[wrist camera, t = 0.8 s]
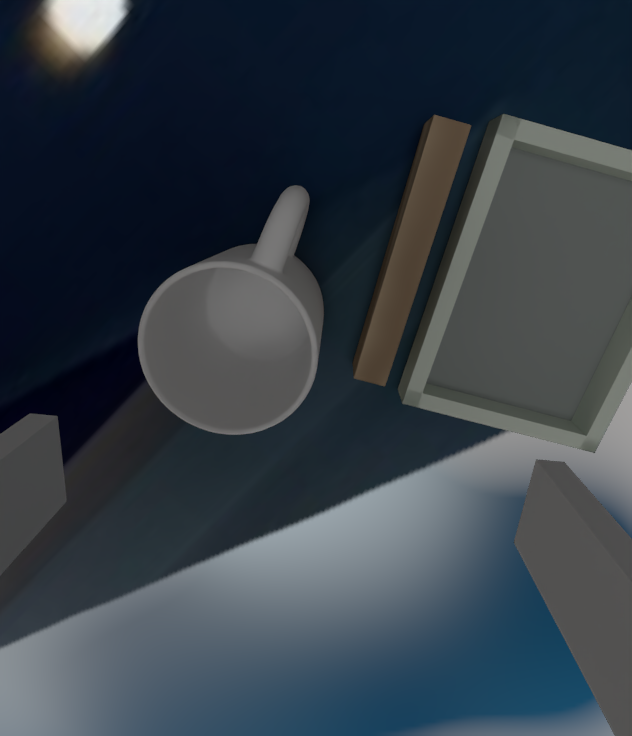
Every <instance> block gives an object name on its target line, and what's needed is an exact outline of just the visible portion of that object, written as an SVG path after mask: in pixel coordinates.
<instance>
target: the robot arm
mask: <svg viewBox="0 0 632 736" xmlns="http://www.w3.org/2000/svg"><path fill="white" fill-rule="evenodd" d="M66 501H67V498H66V489H65V480H64V471H63V462H62V453H61V444H60V434H59V425H58V416H52V415H41V414H28V415H27V416H25V417H24V418H23V419H21V420H20V421H18V422H17V423H15V424H14V425H13V426H11V427H10V428H8V429H7V430H5V431H4V432H2V433H1V434H0V575H1V574H2V573H3V572H4V571H5V570H6V569H7V567H8V566H9V565H10V564H11V563H12V562H13V561H14V560H15V558H16V557H17V556H18V555H19V554H20V553H21V552H22V551H23V550H24V548H25V547H26V546H27V545H28V544H29V543H30V542H31V541H32V539H33V538H34V537H35V536H36V535H37V534H38V533H39V532H40V531H41V529H42V528H43V527H44V526H45V525H46V524H47V523H48V522H49V520H50V519H51V518H52V517H53V516H54V515H55V514H56V513H57V512H58V510H59V509H60V508H61V507H62V506H63V505H64V504H65V503H66ZM514 543H515V545H516V548H517V549H518V551H519V553H520V555H521V557H522V559H523V561H524V563H525V565H526V567H527V569H528V570H529V572H530V574H531V576H532V578H533V580H534V582H535V584H536V586H537V587H538V590H539V592H540V593H541V595H542V597H543V599H544V601H545V603H546V605H547V607H548V609H549V611H550V613H551V614H552V616H553V618H554V620H555V622H556V624H557V626H558V628H559V630H560V632H561V633H562V635H563V637H564V639H565V641H566V643H567V645H568V647H569V648H570V651H571V653H572V654H573V656H574V658H575V660H576V662H577V664H578V666H579V668H580V670H581V671H582V674H583V676H584V677H585V679H586V681H587V683H588V685H589V687H590V689H591V691H592V693H593V695H594V697H595V698H596V700H597V702H598V704H599V706H600V708H601V710H602V712H603V714H604V716H605V718H606V720H607V722H608V723H609V725H610V727H611V729H612V731H613V733H614V735H615V736H632V539H631V538H630V536H629V535H628V534H627V533H626V532H625V531H624V530H623V528H622V527H621V526H620V525H619V524H618V523H617V522H616V520H615V519H614V518H613V517H612V516H611V515H610V514H609V512H608V511H607V510H606V509H605V508H604V507H603V506H602V504H601V503H600V502H599V501H598V500H597V499H596V498H595V496H594V495H593V494H592V493H591V492H590V491H589V490H588V489H587V487H586V486H585V485H584V484H583V483H582V482H581V481H580V479H579V478H578V477H577V476H576V475H575V474H574V473H573V472H572V470H571V469H570V468H569V467H568V466H567V465H566V463H565V462H557V461H547V460H536V462H535V466H534V469H533V473H532V477H531V480H530V484H529V488H528V491H527V495H526V499H525V503H524V507H523V510H522V514H521V518H520V521H519V525H518V529H517V533H516V536H515V540H514Z"/></svg>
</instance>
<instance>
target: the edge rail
mask: <svg viewBox="0 0 632 736" xmlns="http://www.w3.org/2000/svg"><path fill="white" fill-rule="evenodd" d="M470 128H471V125H469V124H465V123H462V122H458V121H455V120H451V119H448V118H444V117H441V116H437V115H433V116H432V117H431V118H430V119H429V120H428V121H427V122H426V123H425V124H424V127H423V130H422V134H421V137H420V140H419V144H418V147H417V150H416V154H415V157H414V160H413V164H412V167H411V170H410V174H409V177H408V180H407V184H406V187H405V190H404V194H403V197H402V200H401V204H400V207H399V210H398V213H397V217H396V220H395V223H394V227H393V230H392V233H391V237H390V240H389V243H388V247H387V250H386V253H385V257H384V260H383V263H382V267H381V270H380V273H379V277H378V280H377V283H376V287H375V290H374V293H373V297H372V300H371V303H370V307H369V310H368V313H367V317H366V320H365V323H364V327H363V330H362V333H361V337H360V340H359V343H358V347H357V350H356V353H355V357H354V360H353V373H354V378H355V379H358V380H362V381H366V382H370V383H374V384H378V385H382V386H385V385H386V382H387V379H388V376H389V373H390V370H391V367H392V364H393V361H394V358H395V355H396V352H397V349H398V346H399V343H400V340H401V337H402V334H403V331H404V328H405V324H406V321H407V318H408V315H409V312H410V309H411V306H412V303H413V300H414V297H415V294H416V291H417V288H418V285H419V282H420V279H421V276H422V273H423V270H424V267H425V264H426V261H427V258H428V255H429V252H430V249H431V246H432V243H433V240H434V237H435V234H436V231H437V228H438V225H439V222H440V219H441V216H442V213H443V210H444V207H445V204H446V201H447V198H448V195H449V192H450V189H451V186H452V183H453V179H454V176H455V173H456V170H457V167H458V164H459V161H460V158H461V155H462V152H463V149H464V146H465V143H466V140H467V137H468V134H469V131H470Z"/></svg>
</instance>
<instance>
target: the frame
mask: <svg viewBox="0 0 632 736" xmlns="http://www.w3.org/2000/svg"><path fill="white" fill-rule="evenodd" d="M631 382H632V150H628V149H625V148H621V147H618V146H614V145H611V144H607V143H604V142H600V141H597V140H593V139H590V138H586V137H583V136H579V135H576V134H572V133H569V132H565V131H562V130H558V129H555V128H551V127H548V126H544V125H541V124H537V123H534V122H530V121H527V120H523V119H520V118H516V117H513V116H509V115H506V114H502V115H500V116H498V117H496V118H495V119H493V120H491V121H489V123H488V126H487V129H486V132H485V135H484V138H483V141H482V144H481V147H480V149H479V152H478V155H477V158H476V161H475V164H474V167H473V170H472V173H471V176H470V179H469V182H468V185H467V188H466V190H465V193H464V196H463V199H462V202H461V205H460V208H459V211H458V214H457V217H456V220H455V223H454V226H453V229H452V231H451V234H450V237H449V240H448V243H447V246H446V249H445V252H444V255H443V258H442V261H441V264H440V267H439V269H438V272H437V275H436V278H435V281H434V284H433V287H432V290H431V293H430V296H429V299H428V302H427V305H426V308H425V310H424V313H423V316H422V319H421V322H420V325H419V328H418V331H417V334H416V337H415V340H414V343H413V346H412V349H411V351H410V354H409V357H408V360H407V363H406V366H405V369H404V372H403V375H402V378H401V381H400V384H399V387H398V391H399V395H400V398H401V401H402V403H403V404H406V405H410V406H414V407H418V408H422V409H426V410H430V411H434V412H438V413H441V414H445V415H449V416H453V417H457V418H461V419H465V420H469V421H472V422H476V423H480V424H484V425H488V426H492V427H496V428H500V429H503V430H507V431H511V432H515V433H519V434H523V435H527V436H531V437H535V438H539V439H542V440H546V441H550V442H554V443H558V444H562V445H566V446H570V447H573V448H577V449H582V450H585V451H589V452H593V453H595V451H596V449H597V447H598V446H599V444H600V442H601V440H602V438H603V436H604V434H605V432H606V430H607V428H608V426H609V424H610V422H611V421H612V418H613V417H614V415H615V413H616V411H617V409H618V407H619V405H620V403H621V401H622V399H623V397H624V395H625V393H626V392H627V390H628V388H629V386H630V384H631Z"/></svg>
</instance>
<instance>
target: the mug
mask: <svg viewBox="0 0 632 736" xmlns="http://www.w3.org/2000/svg"><path fill="white" fill-rule="evenodd" d="M309 202H310V199H309V194H308V193H307V191H306V190H305V189H304V188H303V187H301V186H297V185H295V186H290V187H288V188H287V189H286V190H285V191H283V193H282V194H281V195H280V197H279V199H278V200H277V202H276V204H275V206H274V208H273V210H272V212H271V214H270V216H269V218H268V220H267V222H266V224H265V226H264V229H263V231H262V233H261V236H260V238H259V240H258V243H257V244H246V245H240V246H237V247H234V248H231V249H228V250H226V251H224V252H222V253H219V254H217V255H215V256H212V257H210V258H208V259H205V260H203V261H201V262H198V263H196V264H194V265H192V266H189V267H187V268H185V269H183V270H181V271H179V272H177V273H175V274H174V275H173V276H171V277H170V278H168V279H167V280H166V281H165V282H164V283H163V284H161V285H160V286H159V287H158V289H157V290H156V291H155V292H154V294H153V295H152V296H151V298H150V300H149V301H148V303H147V305H146V307H145V309H144V312H143V314H142V317H141V321H140V325H139V332H138V352H139V358H140V363H141V366H142V369H143V373H144V375H145V377H146V379H147V381H148V383H149V385H150V387H151V388H152V390H153V392H154V393H155V394H156V396H157V397H158V398H159V399H160V401H161V402H162V403H163V404H164V405H165V406H166V407H167V408H168V409H169V410H170V411H172V412H173V413H174V414H175V415H177V416H178V417H179V418H181V419H183V420H184V421H186V422H187V423H189V424H192V425H194V426H196V427H198V428H201V429H204V430H206V431H210V432H214V433H219V434H228V435H242V434H249V433H254V432H258V431H262V430H264V429H267V428H269V427H272V426H274V425H276V424H278V423H279V422H281V421H283V420H284V419H285V418H287V417H288V416H289V415H291V414H292V413H293V412H294V411H295V410H296V409H297V408H298V407H299V406H300V404H301V403H302V402H303V400H304V399H305V398H306V396H307V394H308V392H309V391H310V389H311V386H312V384H313V381H314V379H315V375H316V370H317V365H318V357H319V350H320V342H321V335H322V327H323V318H324V304H323V298H322V294H321V290H320V287H319V285H318V283H317V280H316V279H315V277H314V275H313V274H312V272H311V271H310V270H309V269H308V267H307V266H306V265H305V264H304V263H303V262H302V261H301V260H300V259H298V258H297V257H296V256H294V253H295V251H296V248H297V245H298V242H299V239H300V236H301V233H302V230H303V227H304V223H305V220H306V216H307V213H308V208H309Z"/></svg>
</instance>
